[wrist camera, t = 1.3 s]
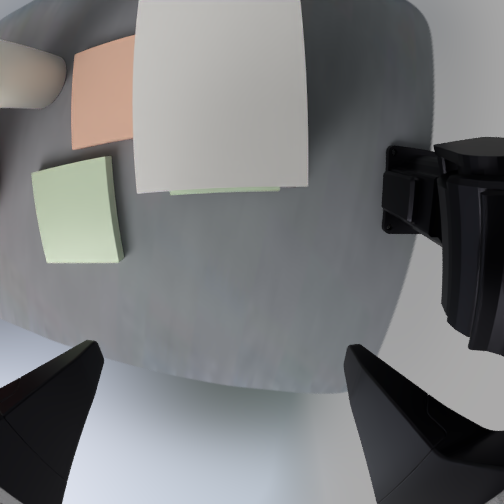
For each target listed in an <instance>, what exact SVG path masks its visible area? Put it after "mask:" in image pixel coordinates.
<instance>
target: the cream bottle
mask: <svg viewBox="0 0 504 504" xmlns="http://www.w3.org/2000/svg"><path fill="white" fill-rule="evenodd" d="M66 73H67V69H66V63H65V61H64V59H63V58H61V57H60V56H57V55H54V54H51V53H48V52H45V51H41V50H38V49H35V48H31V47H28V46H24V45H21V44H17V43H13V42H9V41H5V40H1V39H0V108H25V109H43V108H46V107H47V106H49V105H50V104H51V103H52V102H53V101H54V100H55V99H56V98H57V96H58V95H59V93H60V92H61V90H62V88H63V85H64V82H65V79H66Z"/></svg>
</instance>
